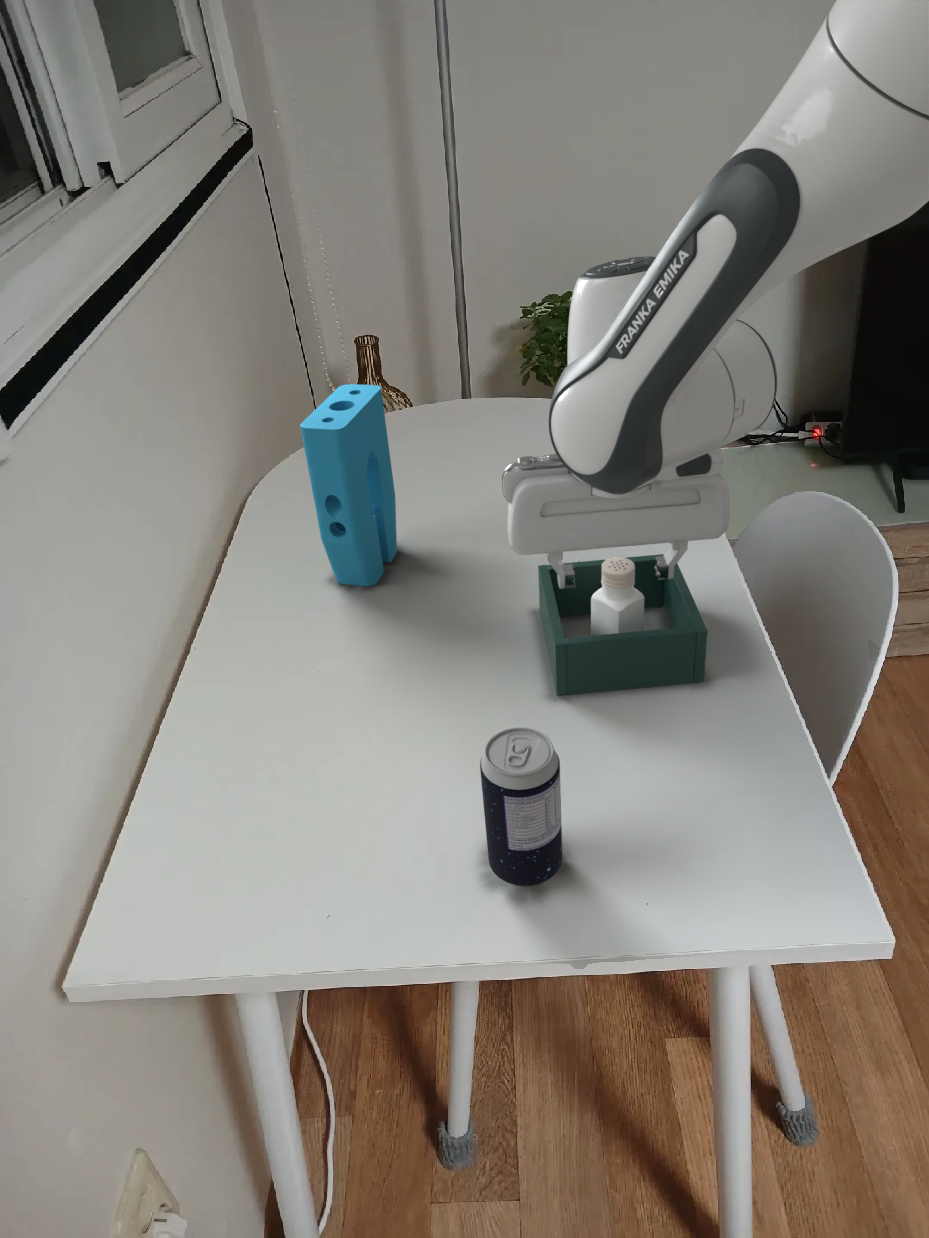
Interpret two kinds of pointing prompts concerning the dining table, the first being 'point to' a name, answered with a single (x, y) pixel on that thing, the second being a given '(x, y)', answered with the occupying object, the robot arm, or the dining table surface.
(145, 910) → the dining table surface
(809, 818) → the dining table surface
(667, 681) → the bin
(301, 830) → the dining table surface
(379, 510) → the block
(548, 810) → the beverage can
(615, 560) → the salt shaker
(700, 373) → the robot arm
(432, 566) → the dining table surface
